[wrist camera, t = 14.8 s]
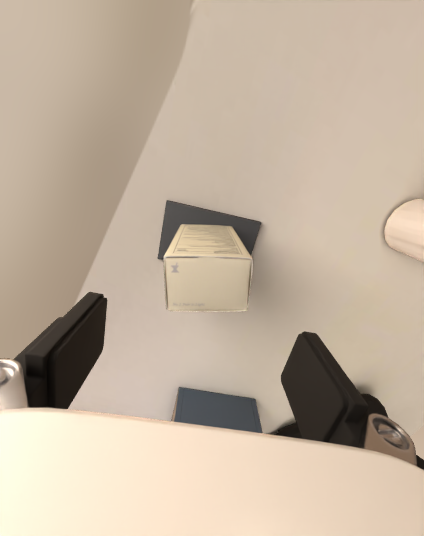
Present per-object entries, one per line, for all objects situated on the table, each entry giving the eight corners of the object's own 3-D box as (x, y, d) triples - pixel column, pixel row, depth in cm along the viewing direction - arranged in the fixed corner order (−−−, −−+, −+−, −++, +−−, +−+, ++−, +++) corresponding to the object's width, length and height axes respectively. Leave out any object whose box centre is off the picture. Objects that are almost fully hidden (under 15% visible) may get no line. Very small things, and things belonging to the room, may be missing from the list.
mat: (158, 257, 29) (157, 258, 28) (167, 200, 26) (166, 200, 26) (243, 275, 30) (244, 276, 29) (260, 221, 27) (261, 222, 27)
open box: (165, 442, 41) (159, 483, 36) (179, 386, 37) (173, 424, 31) (234, 451, 42) (237, 493, 37) (255, 398, 38) (263, 437, 32)
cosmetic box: (180, 258, 28) (162, 313, 17) (180, 221, 27) (159, 255, 15) (232, 260, 28) (248, 315, 17) (235, 224, 27) (254, 258, 15)
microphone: (267, 425, 44) (375, 392, 38) (276, 464, 40) (400, 433, 34) (253, 419, 41) (369, 382, 35) (262, 460, 37) (395, 426, 31)
